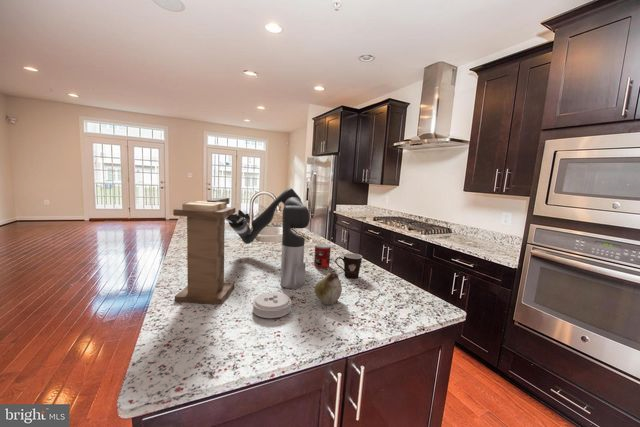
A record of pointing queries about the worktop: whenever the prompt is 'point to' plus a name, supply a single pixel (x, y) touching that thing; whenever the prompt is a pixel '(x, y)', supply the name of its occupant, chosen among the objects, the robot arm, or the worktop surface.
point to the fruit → (328, 289)
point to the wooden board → (207, 205)
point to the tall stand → (205, 257)
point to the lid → (271, 305)
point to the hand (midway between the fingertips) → (229, 211)
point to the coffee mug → (351, 265)
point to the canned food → (322, 255)
